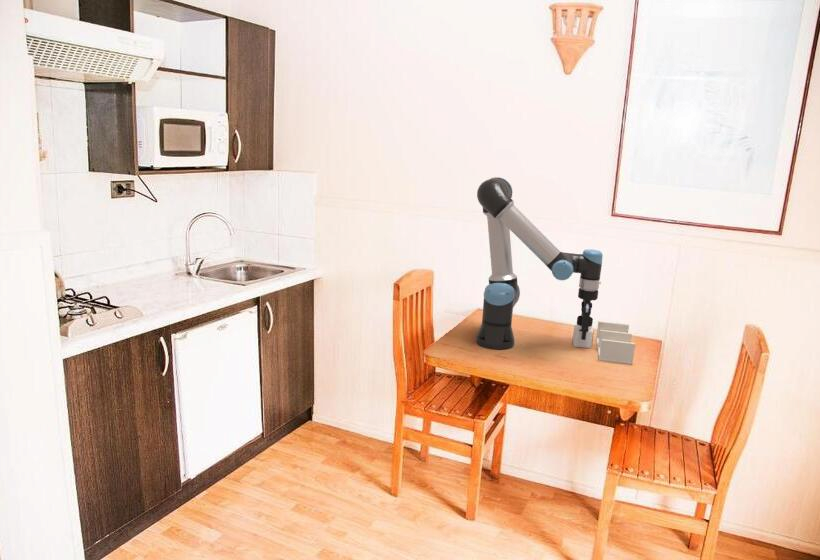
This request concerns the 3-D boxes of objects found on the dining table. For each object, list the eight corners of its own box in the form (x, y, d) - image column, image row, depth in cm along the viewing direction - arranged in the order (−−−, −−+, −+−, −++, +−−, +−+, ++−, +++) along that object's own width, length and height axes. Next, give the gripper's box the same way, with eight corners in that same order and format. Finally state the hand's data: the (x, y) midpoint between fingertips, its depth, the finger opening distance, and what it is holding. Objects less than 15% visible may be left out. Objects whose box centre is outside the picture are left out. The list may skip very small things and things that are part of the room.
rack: (599, 360, 236) (601, 340, 234) (596, 339, 259) (598, 321, 257) (632, 364, 233) (635, 344, 231) (626, 342, 257) (628, 324, 255)
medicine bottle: (591, 348, 248) (595, 320, 245) (573, 346, 249) (576, 318, 246) (590, 343, 255) (593, 315, 252) (572, 341, 256) (575, 313, 253)
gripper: (599, 296, 236) (592, 353, 241) (597, 283, 255) (590, 336, 260) (579, 294, 237) (572, 350, 243) (578, 282, 256) (572, 334, 262)
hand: (582, 343), depth 252 cm, fingers closed on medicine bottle, 7 cm apart
